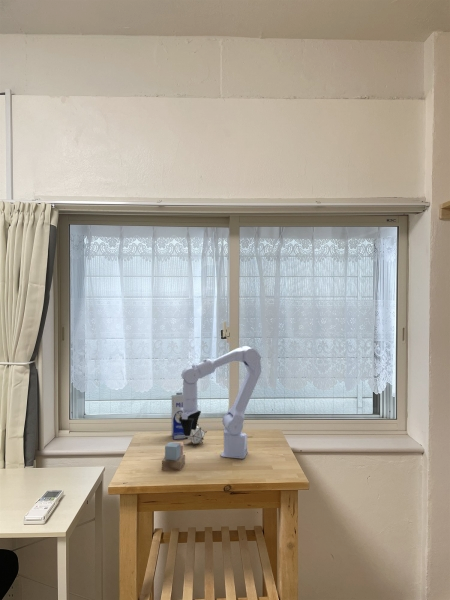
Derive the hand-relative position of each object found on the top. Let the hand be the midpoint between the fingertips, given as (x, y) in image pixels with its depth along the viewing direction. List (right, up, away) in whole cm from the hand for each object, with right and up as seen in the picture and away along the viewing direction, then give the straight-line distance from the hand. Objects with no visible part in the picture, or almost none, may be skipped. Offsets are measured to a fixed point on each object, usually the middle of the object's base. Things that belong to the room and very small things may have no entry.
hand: (190, 432), depth 169 cm
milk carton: (-7, -10, +26) cm, 28 cm away
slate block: (-6, -7, -7) cm, 12 cm away
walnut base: (-6, -11, -8) cm, 14 cm away
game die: (+1, -10, +17) cm, 20 cm away
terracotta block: (-5, -10, +3) cm, 12 cm away
